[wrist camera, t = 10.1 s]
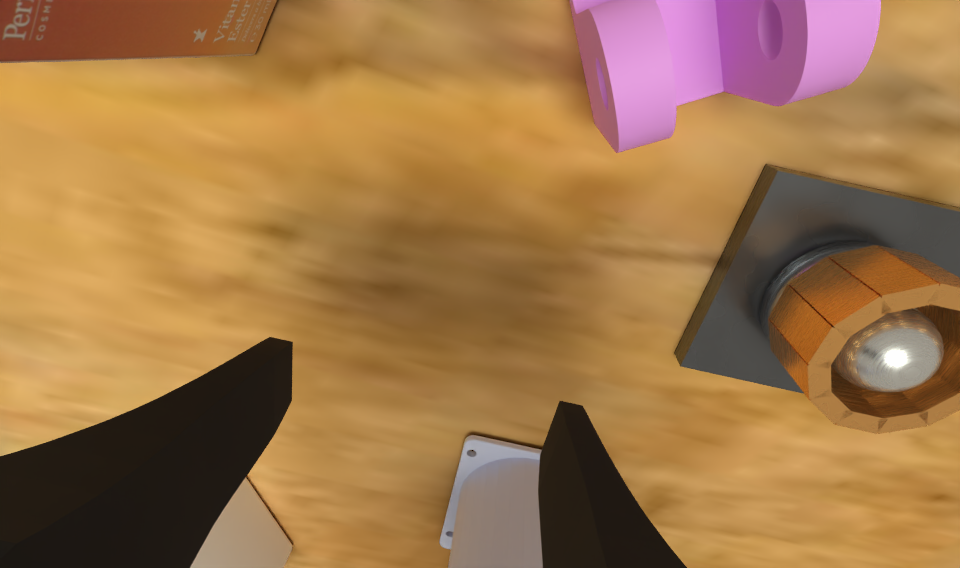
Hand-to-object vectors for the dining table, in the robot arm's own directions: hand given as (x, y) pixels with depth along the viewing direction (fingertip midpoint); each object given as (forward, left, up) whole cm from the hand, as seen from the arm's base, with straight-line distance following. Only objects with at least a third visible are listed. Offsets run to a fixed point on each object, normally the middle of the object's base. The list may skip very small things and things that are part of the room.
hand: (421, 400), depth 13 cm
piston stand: (+2, -15, -9) cm, 18 cm away
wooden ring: (+2, -15, -7) cm, 17 cm away
